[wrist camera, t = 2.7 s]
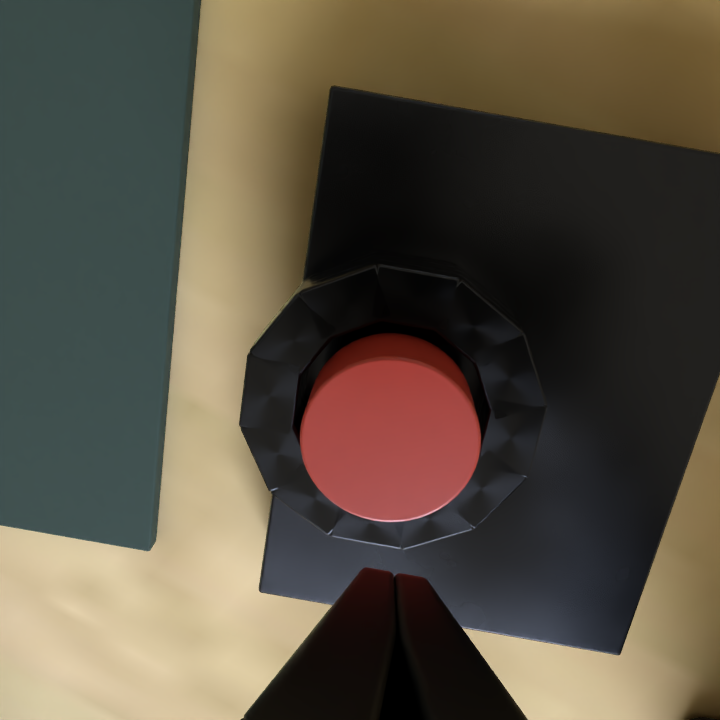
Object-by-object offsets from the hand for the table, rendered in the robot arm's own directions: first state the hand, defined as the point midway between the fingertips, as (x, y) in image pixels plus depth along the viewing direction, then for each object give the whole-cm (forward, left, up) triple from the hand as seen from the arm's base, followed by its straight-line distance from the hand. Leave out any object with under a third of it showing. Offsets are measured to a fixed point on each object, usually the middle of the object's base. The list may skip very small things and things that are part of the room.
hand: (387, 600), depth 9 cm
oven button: (0, 0, -6) cm, 6 cm away
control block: (0, -2, -10) cm, 10 cm away
